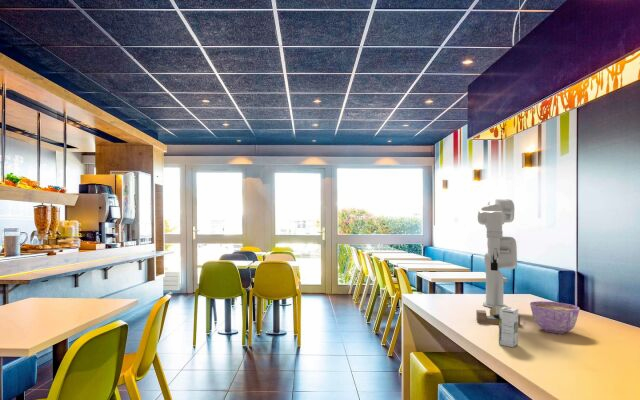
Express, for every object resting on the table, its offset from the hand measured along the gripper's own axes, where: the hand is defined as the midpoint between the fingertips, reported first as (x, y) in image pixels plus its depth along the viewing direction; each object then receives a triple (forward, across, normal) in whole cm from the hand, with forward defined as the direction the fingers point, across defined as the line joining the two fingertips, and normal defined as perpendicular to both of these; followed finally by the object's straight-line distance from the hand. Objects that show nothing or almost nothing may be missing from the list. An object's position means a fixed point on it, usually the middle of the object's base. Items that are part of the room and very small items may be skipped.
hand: (494, 270), depth 226 cm
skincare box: (+22, +5, 0) cm, 22 cm away
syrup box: (+23, +54, -1) cm, 59 cm away
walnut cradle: (+24, +15, 0) cm, 28 cm away
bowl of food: (+24, +23, +23) cm, 40 cm away
